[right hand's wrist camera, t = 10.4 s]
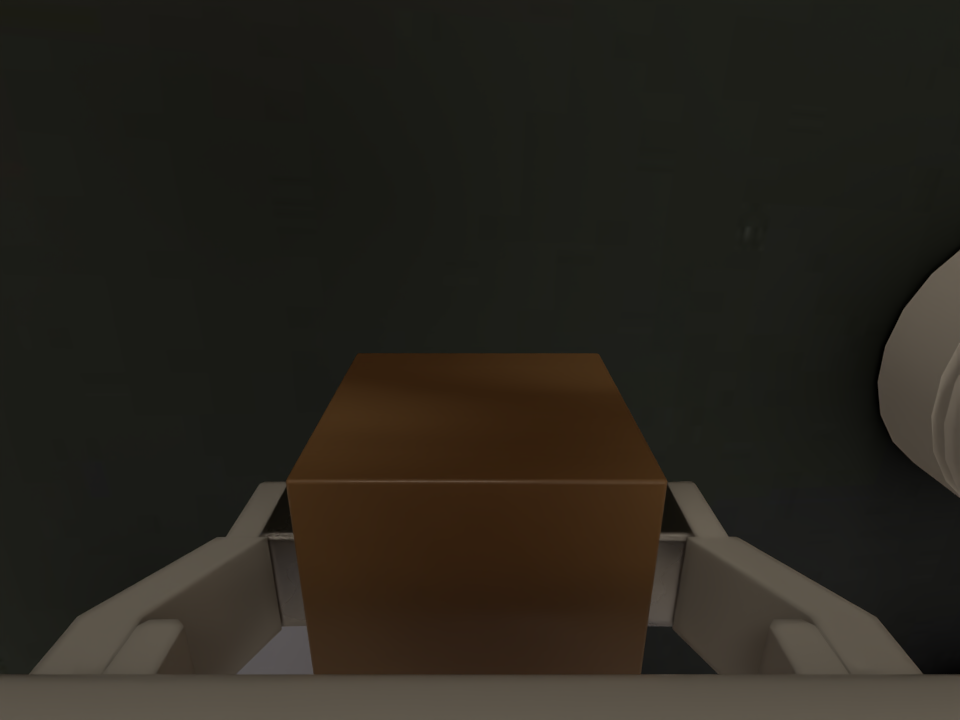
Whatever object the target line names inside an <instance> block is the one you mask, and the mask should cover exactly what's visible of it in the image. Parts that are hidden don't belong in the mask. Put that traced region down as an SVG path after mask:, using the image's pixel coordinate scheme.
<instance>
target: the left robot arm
mask: <svg viewBox="0 0 960 720" xmlns="http://www.w3.org/2000/svg"><path fill="white" fill-rule="evenodd" d="M237 674H313V668H312V661H311V654H310V647H309V640H308V633H307V626H286V627H282V630H281V631H280V632H279V633H278V634H277V635H276V636H275V637H274V638H273V639H272V640H271V641H270V642H269V643H268V644H267V645H265V646H264V647H263V648H262V649H261V650H260V651H259V652H258V653H257V654H256V655H255V656H254V657H253V658H252V659H251V660H250V661H249V662H248V663H247V664H246V665H245V666H244V667H243V668H242V669H241V670H240V671H239V672H238V673H237Z"/></svg>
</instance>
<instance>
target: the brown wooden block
mask: <svg viewBox="0 0 960 720" xmlns="http://www.w3.org/2000/svg"><path fill="white" fill-rule="evenodd" d="M286 487H287V494H288V501H289V508H290V515H291V522H292V529H293V536H294V543H295V550H296V557H297V564H298V571H299V578H300V585H301V592H302V599H303V605H304V612H305V619H306V626H307V633H308V640H309V647H310V654H311V661H312V668H313V674H427V675H597V674H641V668H642V661H643V654H644V647H645V640H646V633H647V625H648V618H649V611H650V604H651V597H652V590H653V582H654V575H655V568H656V561H657V554H658V547H659V539H660V532H661V525H662V518H663V511H664V504H665V496H666V489H667V480H666V478H665V476H664V474H663V472H662V470H661V468H660V467H659V465H658V463H657V461H656V459H655V457H654V456H653V454H652V452H651V450H650V448H649V446H648V444H647V443H646V441H645V439H644V437H643V435H642V433H641V431H640V430H639V428H638V426H637V424H636V422H635V420H634V418H633V417H632V415H631V413H630V411H629V409H628V407H627V405H626V404H625V402H624V400H623V398H622V396H621V394H620V393H619V391H618V389H617V387H616V385H615V383H614V381H613V380H612V378H611V376H610V374H609V372H608V370H607V368H606V367H605V365H604V363H603V361H602V359H601V357H600V355H599V354H595V353H359V354H357V355H356V357H355V359H354V361H353V362H352V364H351V366H350V368H349V369H348V371H347V373H346V375H345V377H344V378H343V380H342V382H341V384H340V385H339V387H338V389H337V391H336V393H335V394H334V396H333V398H332V400H331V401H330V403H329V405H328V407H327V409H326V410H325V412H324V414H323V416H322V417H321V419H320V421H319V423H318V425H317V426H316V428H315V430H314V432H313V433H312V435H311V437H310V439H309V441H308V442H307V444H306V446H305V448H304V449H303V451H302V453H301V455H300V457H299V458H298V460H297V462H296V464H295V465H294V467H293V469H292V471H291V473H290V474H289V476H288V478H287V480H286Z"/></svg>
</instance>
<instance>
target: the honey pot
mask: <svg viewBox="0 0 960 720" xmlns="http://www.w3.org/2000/svg"><path fill="white" fill-rule="evenodd" d="M878 392H879V404H880V415H881V417H882V419H883V421H884V423H885V426H886V428H887V430H888V432H889V435H890V437H891V439H892V441H893V442H894V443H895V444H896V445H897V446H898V447H899V448H900V450H901V451H902V452H903V453H904V454H905V455H906V456H907V457H908V458H909V459H910V460H911V461H912V462H913V463H915V464H916V465H917V466H919V467H920V468H921V469H923V470H924V471H925V472H927V473H928V474H929V475H930V476H932V477H933V478H934V479H936V480H937V481H938V482H940V483H941V484H942V485H944V486H945V487H946V488H948V489H949V490H950V491H952V492H953V493H954V494H956V495H957V496H958V497H959V498H960V251H958V252H957V253H956V254H955V255H954V256H952V257H951V258H950V259H949V260H948V261H947V262H945V263H944V264H943V265H942V266H941V267H939V268H938V269H937V270H936V271H935V272H933V273H932V274H931V275H930V277H929V278H928V279H927V280H926V282H925V283H924V284H923V286H922V287H921V288H920V289H919V291H918V292H917V293H916V294H915V296H914V297H913V298H912V299H911V301H910V302H909V303H908V304H907V306H906V307H905V308H904V309H903V311H902V313H901V315H900V317H899V319H898V321H897V323H896V325H895V328H894V330H893V332H892V334H891V336H890V338H889V340H888V342H887V344H886V346H885V350H884V354H883V359H882V364H881V369H880V373H879V378H878Z"/></svg>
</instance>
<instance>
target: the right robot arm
mask: <svg viewBox="0 0 960 720" xmlns="http://www.w3.org/2000/svg"><path fill="white" fill-rule="evenodd" d="M286 626H306V619H305V612H304V605H303V599H302V592H301V585H300V578H299V571H298V564H297V557H296V550H295V543H294V536H293V529H292V522H291V515H290V508H289V501H288V494H287V487H286V482H263V483H261V484H260V485H259V486H258V487H257V489H256V490H255V492H254V493H253V495H252V497H251V498H250V500H249V501H248V503H247V504H246V506H245V507H244V509H243V511H242V512H241V514H240V515H239V517H238V518H237V520H236V522H235V523H234V525H233V526H232V528H231V529H230V531H229V533H228V534H227V536H226V537H216V538H215V539H213V540H211V541H209V542H208V543H206V544H204V545H202V546H201V547H199V548H197V549H195V550H194V551H192V552H190V553H188V554H187V555H185V556H183V557H181V558H180V559H178V560H176V561H174V562H172V563H171V564H169V565H167V566H165V567H164V568H162V569H160V570H158V571H157V572H155V573H153V574H151V575H150V576H148V577H146V578H144V579H143V580H141V581H139V582H137V583H136V584H134V585H132V586H130V587H129V588H127V589H125V590H123V591H122V592H120V593H118V594H116V595H115V596H113V597H111V598H109V599H108V600H106V601H104V602H102V603H100V604H99V605H97V606H95V607H93V608H92V609H90V610H88V611H86V612H85V613H83V614H81V615H79V616H78V617H77V618H76V619H75V620H74V621H73V622H72V624H71V625H70V626H69V627H68V628H67V630H66V631H65V632H64V633H63V634H62V635H61V637H60V638H59V639H58V640H57V641H56V643H55V644H54V645H53V646H52V647H51V649H50V650H49V651H48V652H47V653H46V655H45V656H44V657H43V658H42V659H41V660H40V662H39V663H38V664H37V665H36V666H35V668H34V669H33V670H32V671H31V672H30V674H0V720H960V674H923V673H922V672H921V671H920V670H919V668H918V667H917V666H916V665H915V664H914V662H913V661H912V660H911V659H910V657H909V656H908V655H907V654H906V653H905V651H904V650H903V649H902V648H901V646H900V645H899V644H898V643H897V642H896V640H895V639H894V638H893V637H892V635H891V634H890V633H889V632H888V631H887V629H886V628H885V627H884V626H883V625H882V623H881V622H880V621H879V620H878V618H877V617H875V616H873V615H871V614H870V613H868V612H866V611H865V610H863V609H861V608H859V607H858V606H856V605H854V604H852V603H851V602H849V601H847V600H845V599H844V598H842V597H840V596H838V595H837V594H835V593H833V592H832V591H830V590H828V589H826V588H825V587H823V586H821V585H819V584H818V583H816V582H814V581H812V580H811V579H809V578H807V577H806V576H804V575H802V574H800V573H799V572H797V571H795V570H793V569H792V568H790V567H788V566H786V565H785V564H783V563H781V562H780V561H778V560H776V559H774V558H773V557H771V556H769V555H767V554H766V553H764V552H762V551H760V550H759V549H757V548H755V547H754V546H752V545H750V544H748V543H747V542H745V541H743V540H741V539H740V538H738V537H728V535H727V534H726V532H725V530H724V529H723V527H722V526H721V524H720V522H719V521H718V519H717V518H716V516H715V515H714V513H713V511H712V510H711V508H710V507H709V505H708V504H707V502H706V500H705V499H704V497H703V496H702V494H701V492H700V491H699V489H698V488H697V486H696V485H695V484H694V483H693V482H691V481H683V482H667V489H666V496H665V504H664V511H663V518H662V525H661V532H660V539H659V547H658V554H657V561H656V568H655V575H654V582H653V590H652V597H651V604H650V611H649V618H648V625H647V626H668V627H673V630H674V631H675V632H676V633H677V634H678V635H679V636H680V637H681V638H682V639H683V640H684V641H685V642H686V643H687V644H688V645H689V646H690V647H691V648H692V649H693V650H694V651H695V652H697V653H698V654H699V655H700V656H701V657H702V658H703V659H704V660H705V661H706V662H707V663H708V664H709V665H710V666H711V667H712V668H713V669H714V670H715V671H716V672H717V673H718V674H597V675H427V674H237V673H238V672H239V671H240V670H241V669H242V668H243V667H244V666H245V665H246V664H247V663H248V662H249V661H250V660H251V659H252V658H253V657H254V656H255V655H256V654H257V653H258V652H259V651H260V650H261V649H262V648H263V647H264V646H265V645H267V644H268V643H269V642H270V641H271V640H272V639H273V638H274V637H275V636H276V635H277V634H278V633H279V632H280V631H281V630H282V627H286Z"/></svg>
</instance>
